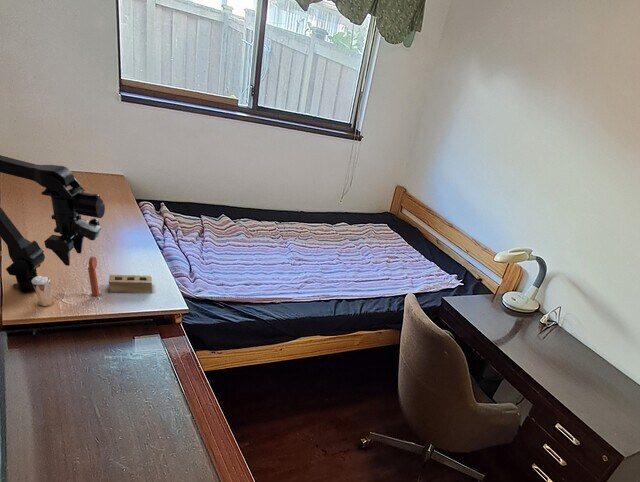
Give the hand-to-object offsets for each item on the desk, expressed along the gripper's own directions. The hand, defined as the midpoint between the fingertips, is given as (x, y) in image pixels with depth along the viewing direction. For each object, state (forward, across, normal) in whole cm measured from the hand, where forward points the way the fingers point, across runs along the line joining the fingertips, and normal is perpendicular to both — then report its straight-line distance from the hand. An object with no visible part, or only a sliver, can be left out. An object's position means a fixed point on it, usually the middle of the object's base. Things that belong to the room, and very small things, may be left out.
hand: (73, 259), depth 143 cm
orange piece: (+13, +1, -4) cm, 14 cm away
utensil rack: (+13, +8, -14) cm, 20 cm away
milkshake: (+13, -8, +7) cm, 17 cm away
